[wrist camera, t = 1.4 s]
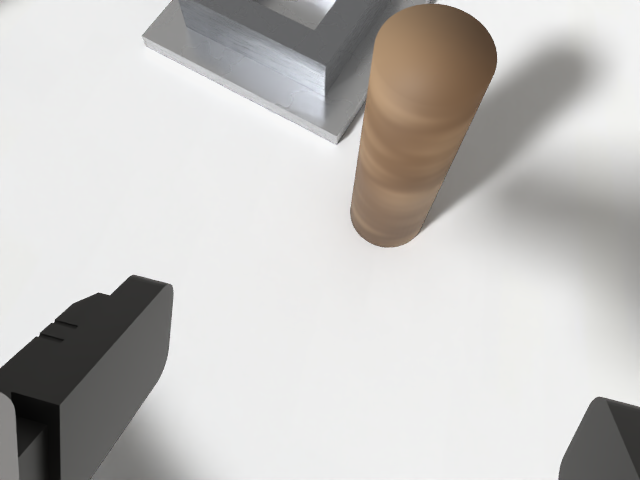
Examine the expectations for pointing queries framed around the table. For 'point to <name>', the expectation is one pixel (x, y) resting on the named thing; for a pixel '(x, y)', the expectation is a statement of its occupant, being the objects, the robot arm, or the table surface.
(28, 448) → the robot arm
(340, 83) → the collar
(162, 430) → the table surface
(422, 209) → the pin
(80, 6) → the table surface
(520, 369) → the table surface
